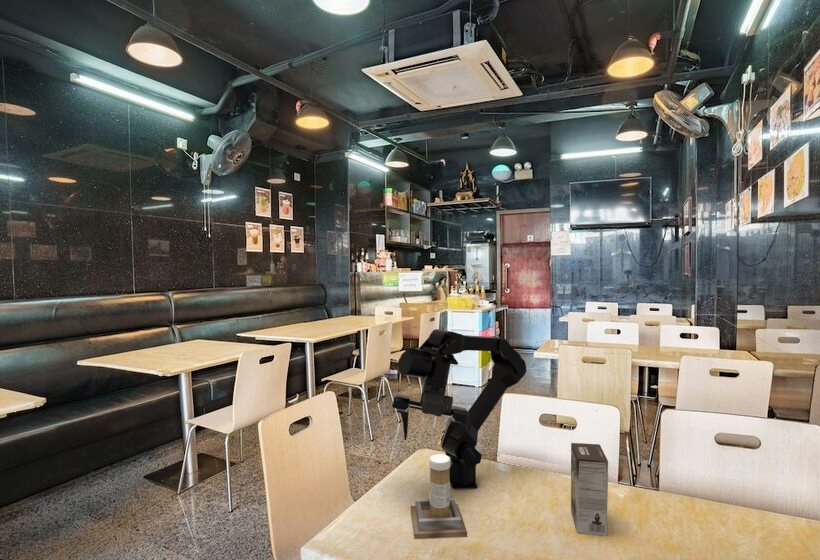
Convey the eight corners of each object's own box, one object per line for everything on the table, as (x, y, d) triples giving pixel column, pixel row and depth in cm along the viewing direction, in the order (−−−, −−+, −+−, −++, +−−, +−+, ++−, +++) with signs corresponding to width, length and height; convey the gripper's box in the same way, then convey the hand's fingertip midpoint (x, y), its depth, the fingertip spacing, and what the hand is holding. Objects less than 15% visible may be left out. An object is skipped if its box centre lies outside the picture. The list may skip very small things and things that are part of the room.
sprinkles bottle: (437, 510, 100) (437, 451, 100) (454, 517, 97) (454, 456, 97) (425, 519, 97) (425, 458, 96) (442, 526, 94) (442, 463, 93)
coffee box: (569, 510, 102) (570, 441, 102) (599, 513, 101) (599, 443, 100) (576, 533, 93) (576, 458, 93) (608, 537, 92) (609, 460, 91)
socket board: (457, 508, 103) (457, 495, 103) (467, 536, 92) (467, 522, 92) (410, 510, 102) (410, 497, 102) (414, 538, 91) (414, 524, 91)
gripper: (398, 375, 102) (384, 443, 100) (477, 391, 102) (464, 461, 100) (399, 371, 113) (387, 432, 111) (471, 386, 113) (459, 448, 111)
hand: (423, 443), depth 108 cm, fingers open, 9 cm apart
